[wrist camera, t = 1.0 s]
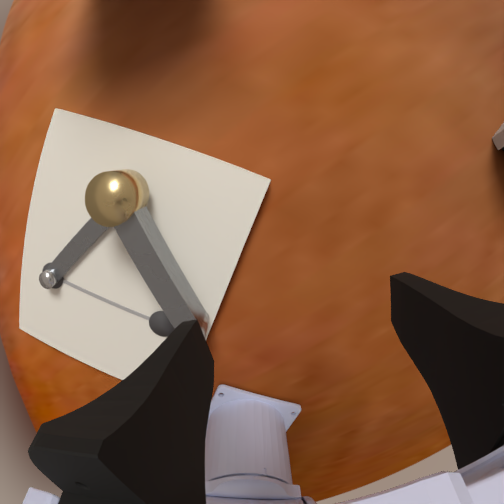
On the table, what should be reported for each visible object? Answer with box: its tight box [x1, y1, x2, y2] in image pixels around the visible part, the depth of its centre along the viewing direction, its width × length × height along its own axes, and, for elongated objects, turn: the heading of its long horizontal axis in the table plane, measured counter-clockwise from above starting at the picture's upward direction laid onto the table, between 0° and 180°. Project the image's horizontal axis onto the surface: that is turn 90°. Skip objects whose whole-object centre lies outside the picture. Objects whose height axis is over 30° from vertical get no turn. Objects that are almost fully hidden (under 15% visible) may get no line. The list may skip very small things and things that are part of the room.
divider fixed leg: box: [39, 218, 109, 289], centre depth 21 cm, size 10×1×1 cm, turn 128°
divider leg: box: [85, 169, 209, 337], centre depth 19 cm, size 12×3×3 cm, turn 26°
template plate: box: [20, 108, 271, 380], centre depth 22 cm, size 20×17×2 cm
